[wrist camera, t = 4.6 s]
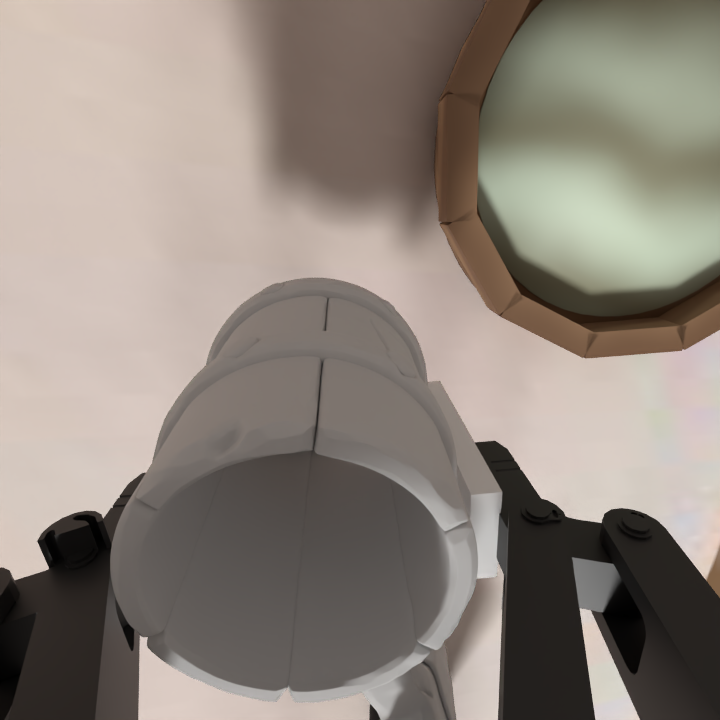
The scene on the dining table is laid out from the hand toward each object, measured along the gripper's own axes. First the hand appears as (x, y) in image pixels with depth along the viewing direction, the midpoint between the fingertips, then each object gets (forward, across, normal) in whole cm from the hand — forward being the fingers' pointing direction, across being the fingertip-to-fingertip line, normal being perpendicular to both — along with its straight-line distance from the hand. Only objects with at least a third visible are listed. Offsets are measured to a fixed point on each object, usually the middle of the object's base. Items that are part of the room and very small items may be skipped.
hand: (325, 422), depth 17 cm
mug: (+1, +1, 0) cm, 1 cm away
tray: (+9, +16, +9) cm, 21 cm away
